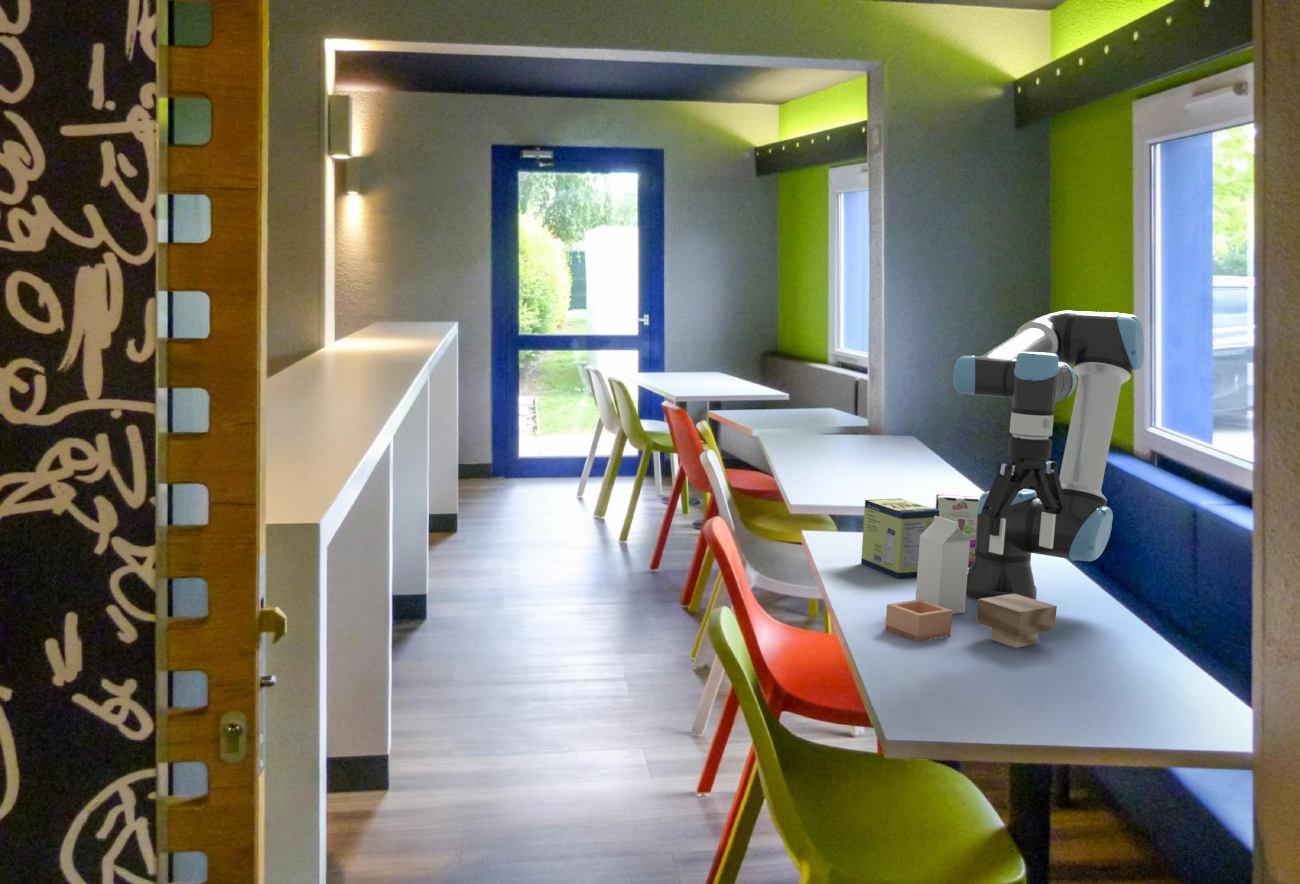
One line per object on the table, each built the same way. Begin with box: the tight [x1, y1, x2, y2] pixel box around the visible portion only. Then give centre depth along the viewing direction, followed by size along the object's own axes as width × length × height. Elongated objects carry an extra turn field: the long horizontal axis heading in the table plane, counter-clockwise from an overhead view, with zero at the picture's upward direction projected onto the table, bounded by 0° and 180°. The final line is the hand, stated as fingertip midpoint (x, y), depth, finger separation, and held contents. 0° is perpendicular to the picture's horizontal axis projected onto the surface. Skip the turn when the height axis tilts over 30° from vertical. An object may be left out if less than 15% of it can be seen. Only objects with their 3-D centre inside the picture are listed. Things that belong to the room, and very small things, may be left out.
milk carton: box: [915, 516, 970, 615], centre depth 249 cm, size 7×7×19 cm
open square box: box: [884, 599, 953, 643], centre depth 233 cm, size 9×9×5 cm
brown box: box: [975, 593, 1058, 636], centre depth 230 cm, size 10×10×4 cm
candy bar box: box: [935, 493, 980, 568], centre depth 292 cm, size 11×5×16 cm, turn 80°
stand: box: [990, 627, 1039, 649], centre depth 230 cm, size 6×6×3 cm
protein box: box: [860, 498, 939, 580], centre depth 283 cm, size 10×16×16 cm
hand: (1021, 550), depth 228 cm, fingers open, 13 cm apart
